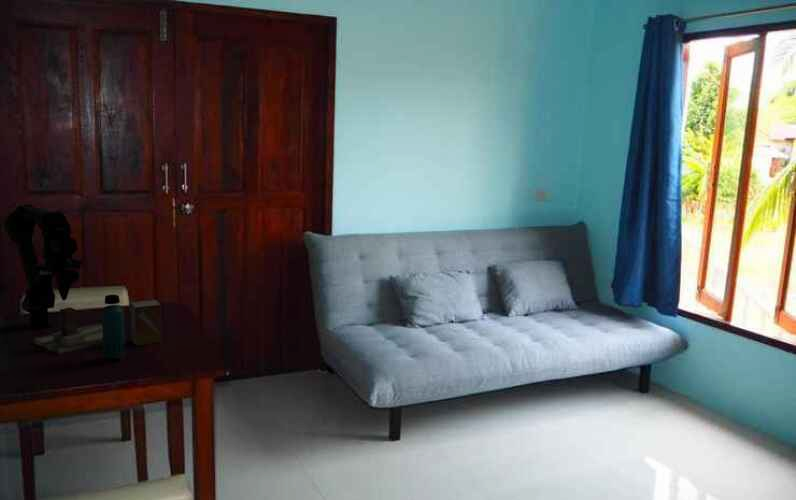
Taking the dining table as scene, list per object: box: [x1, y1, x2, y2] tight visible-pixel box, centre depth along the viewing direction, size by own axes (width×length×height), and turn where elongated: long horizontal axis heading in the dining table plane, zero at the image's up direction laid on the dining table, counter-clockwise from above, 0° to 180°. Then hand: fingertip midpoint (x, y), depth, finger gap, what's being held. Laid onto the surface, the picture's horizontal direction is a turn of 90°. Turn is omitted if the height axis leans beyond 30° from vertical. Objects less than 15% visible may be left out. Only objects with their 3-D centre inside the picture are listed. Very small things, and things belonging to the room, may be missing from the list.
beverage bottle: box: [100, 294, 127, 359], centre depth 208 cm, size 6×7×20 cm
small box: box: [130, 299, 162, 347], centre depth 226 cm, size 8×6×13 cm
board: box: [33, 323, 103, 355], centre depth 226 cm, size 15×22×2 cm
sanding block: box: [52, 307, 86, 347], centre depth 218 cm, size 8×6×11 cm
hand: (56, 297), depth 227 cm, fingers open, 9 cm apart
